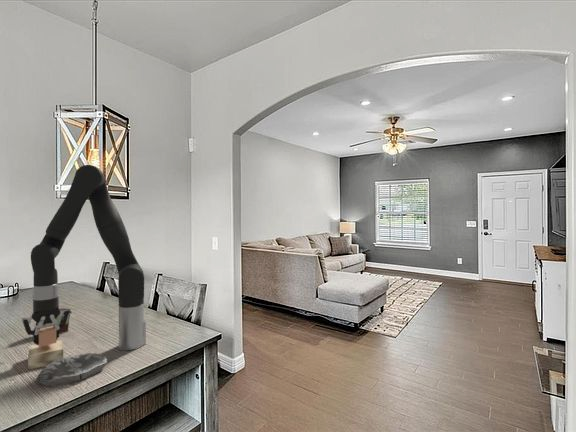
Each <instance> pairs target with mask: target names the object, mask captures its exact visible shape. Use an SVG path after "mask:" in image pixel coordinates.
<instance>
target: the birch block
mask: <svg viewBox="0 0 576 432" xmlns="http://www.w3.org/2000/svg"><path fill="white" fill-rule="evenodd" d="M56 342H57V343H54V344H50V345H46V346H43V347H39V346H38V345H36V344H31V345H29V349H28V354H27V355H28V356H27V370H28V369H29V370H33V369H37V368H41V367H46V366H47V365H48V364H50V363H52V362H53V361H55V360H58V359H61V358H64V340H63V338H61V339H57V340H56Z"/></svg>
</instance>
